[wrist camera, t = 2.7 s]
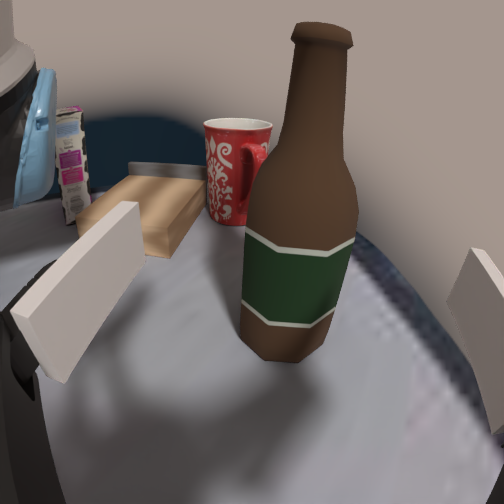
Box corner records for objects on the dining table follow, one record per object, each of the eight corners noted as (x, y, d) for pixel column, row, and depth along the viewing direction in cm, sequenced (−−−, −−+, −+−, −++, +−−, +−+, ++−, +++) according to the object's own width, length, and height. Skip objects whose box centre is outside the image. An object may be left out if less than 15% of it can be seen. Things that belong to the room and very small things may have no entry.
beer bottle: (260, 293, 32) (284, 31, 19) (334, 319, 29) (392, 45, 16) (220, 344, 26) (229, 12, 13) (307, 380, 23) (384, 21, 10)
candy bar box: (97, 218, 43) (84, 109, 34) (66, 226, 41) (48, 116, 32) (88, 193, 51) (79, 103, 42) (62, 200, 48) (50, 109, 40)
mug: (197, 205, 48) (197, 118, 41) (252, 199, 51) (258, 117, 44) (218, 247, 38) (220, 136, 31) (286, 238, 41) (298, 135, 34)
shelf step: (80, 244, 37) (71, 202, 34) (134, 195, 51) (131, 161, 47) (170, 258, 36) (166, 211, 33) (207, 202, 49) (207, 165, 46)
